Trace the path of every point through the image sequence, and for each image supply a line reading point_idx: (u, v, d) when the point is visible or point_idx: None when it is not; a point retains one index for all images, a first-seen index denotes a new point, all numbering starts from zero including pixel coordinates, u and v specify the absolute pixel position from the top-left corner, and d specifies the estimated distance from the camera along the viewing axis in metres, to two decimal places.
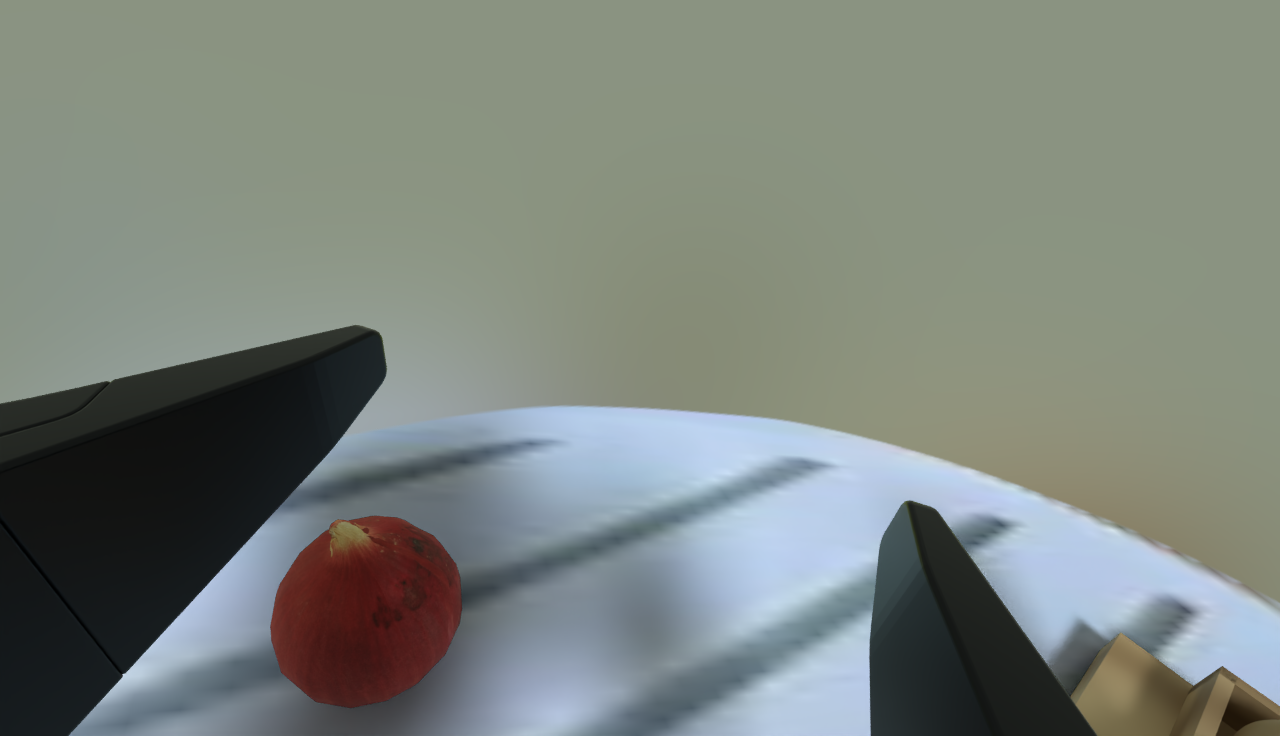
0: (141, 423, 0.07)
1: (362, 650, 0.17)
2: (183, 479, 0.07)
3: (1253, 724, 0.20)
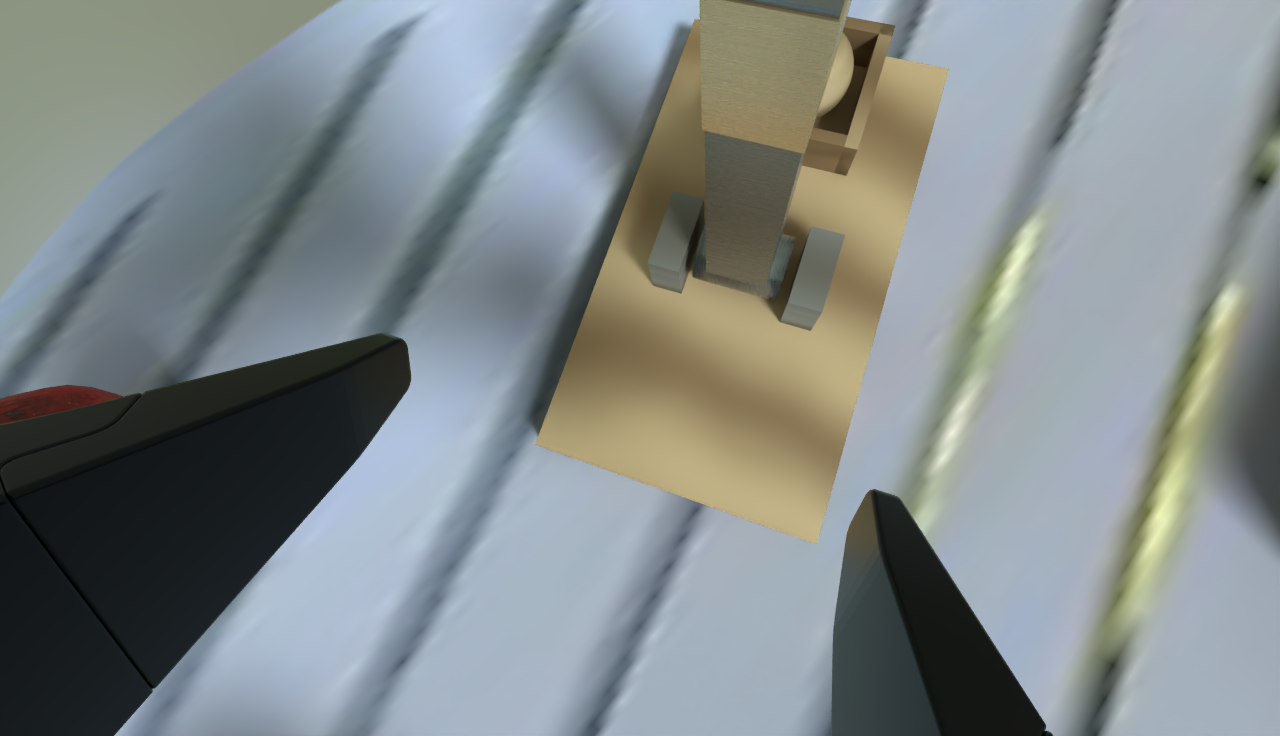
0: (176, 436, 0.07)
1: None
2: (215, 492, 0.07)
3: None
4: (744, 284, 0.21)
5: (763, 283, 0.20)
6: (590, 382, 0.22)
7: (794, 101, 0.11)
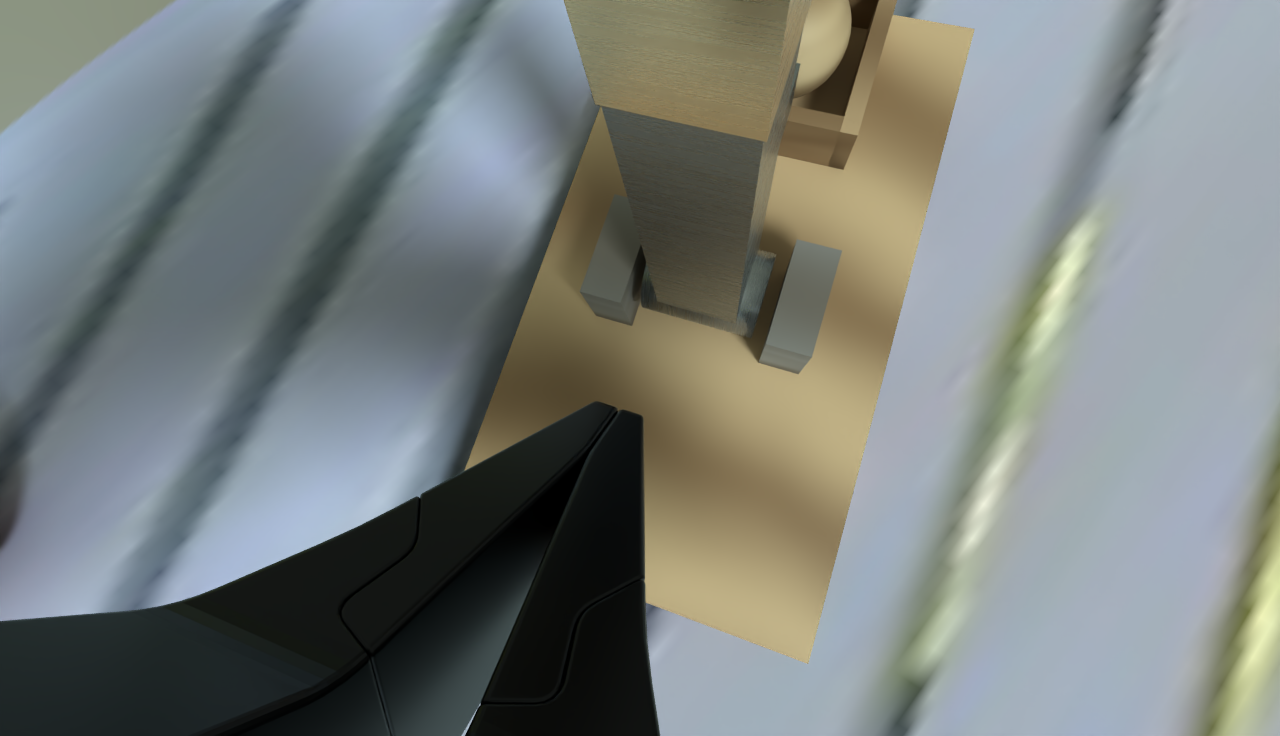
0: (479, 553, 0.06)
1: None
2: (491, 602, 0.07)
3: None
4: (708, 318, 0.15)
5: (732, 318, 0.15)
6: None
7: (737, 42, 0.06)
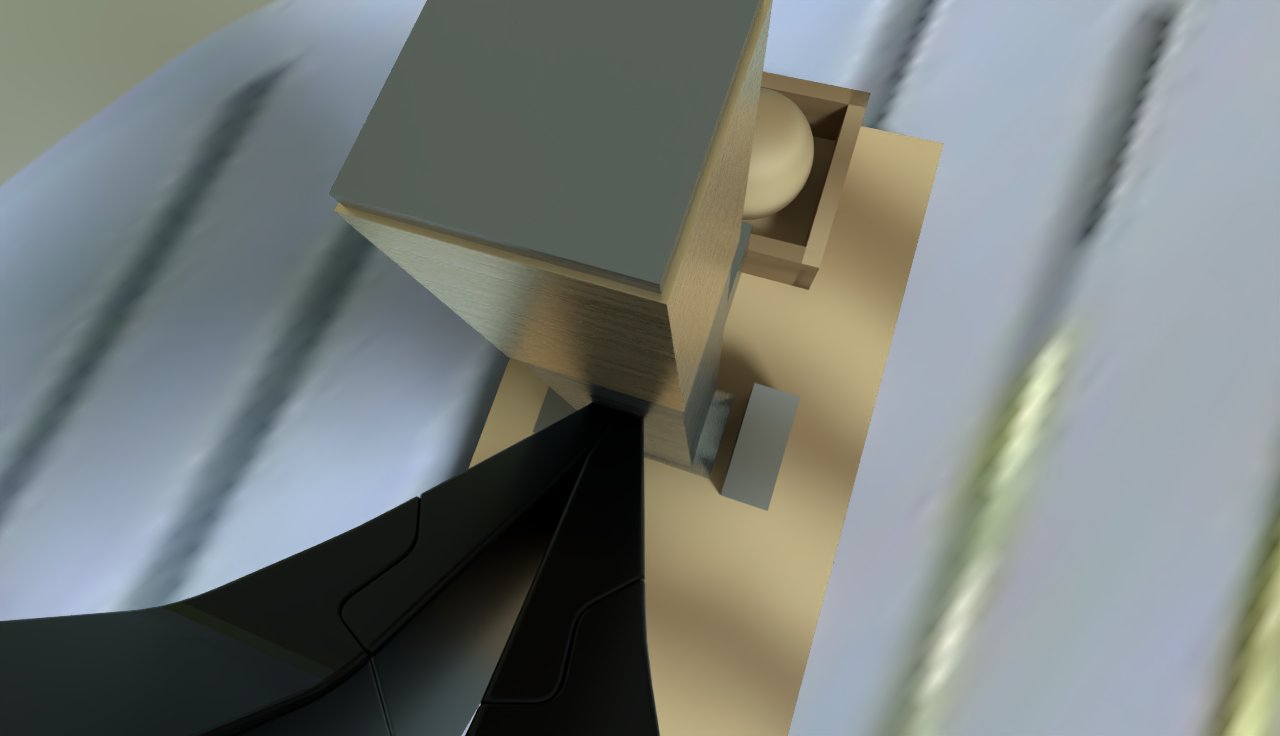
0: (479, 553, 0.06)
1: None
2: (491, 602, 0.07)
3: None
4: (665, 460, 0.15)
5: (688, 465, 0.14)
6: None
7: (634, 367, 0.05)
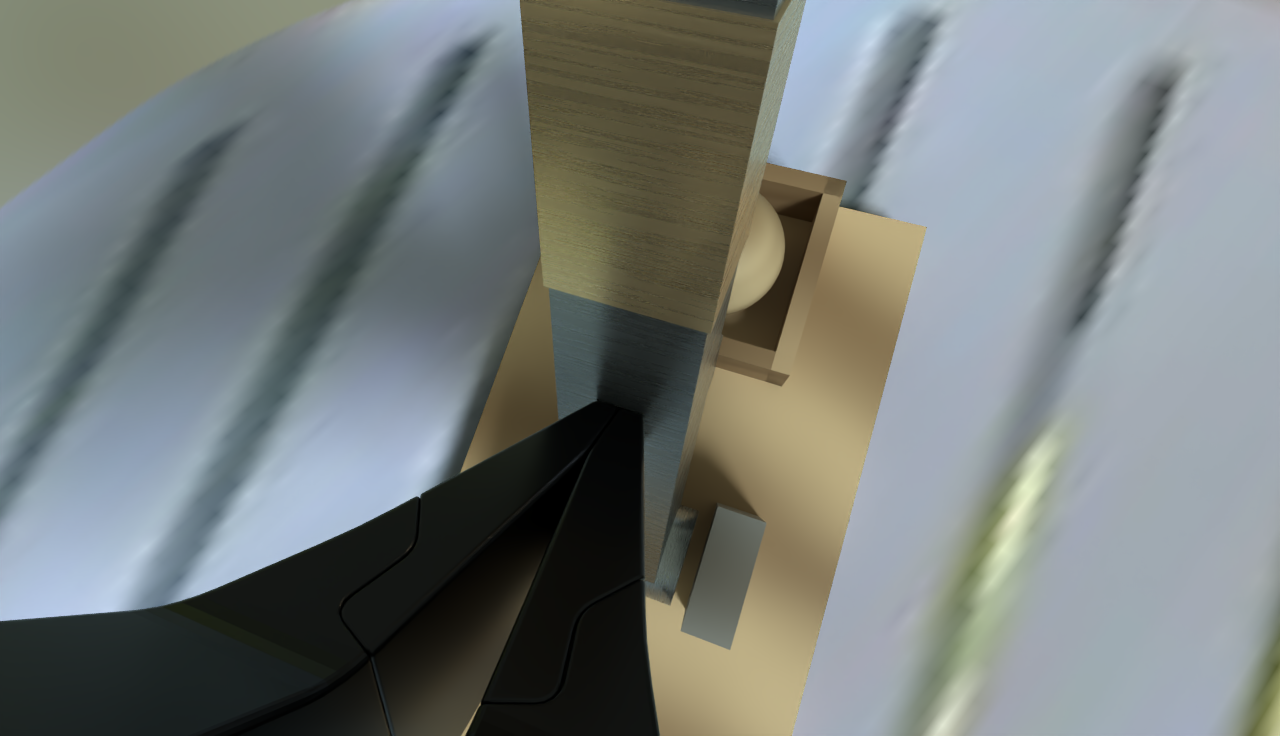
0: (480, 553, 0.06)
1: None
2: (491, 602, 0.07)
3: None
4: None
5: (651, 575, 0.13)
6: None
7: (692, 221, 0.06)
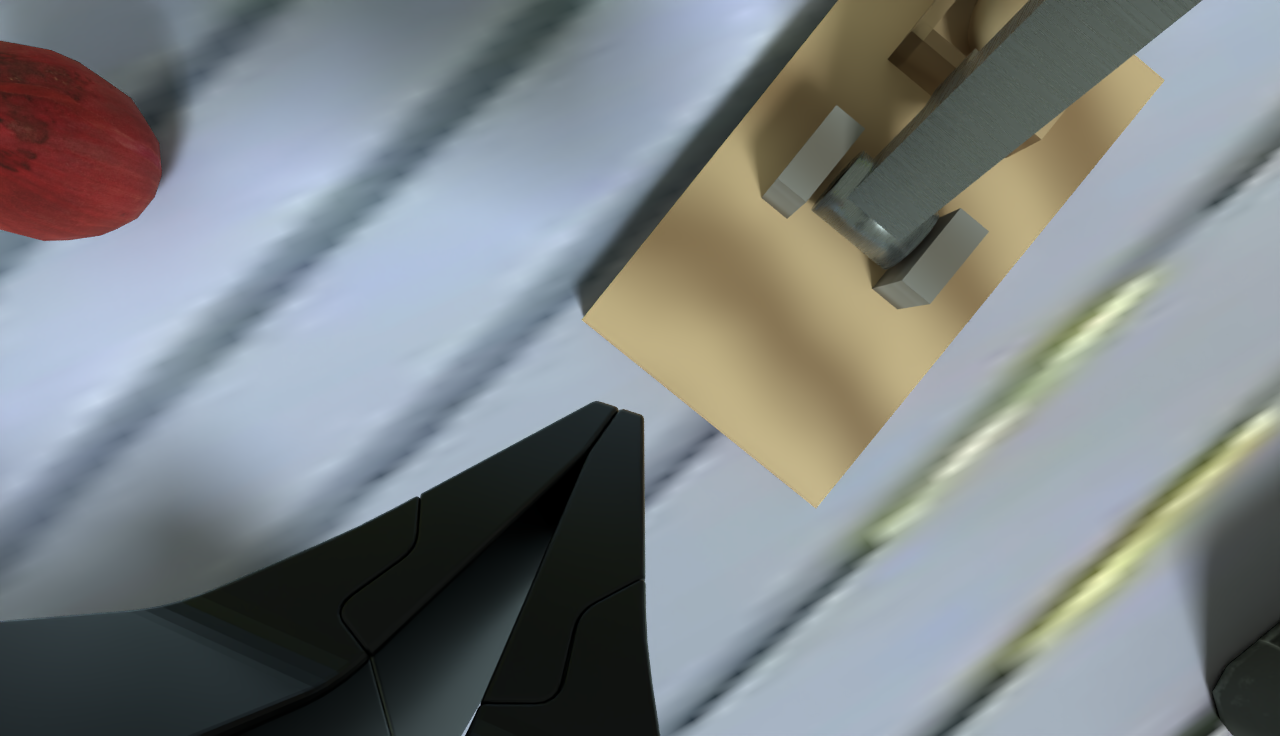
0: (479, 553, 0.06)
1: (27, 196, 0.17)
2: (491, 602, 0.07)
3: None
4: (879, 229, 0.18)
5: (906, 231, 0.18)
6: (659, 276, 0.21)
7: None
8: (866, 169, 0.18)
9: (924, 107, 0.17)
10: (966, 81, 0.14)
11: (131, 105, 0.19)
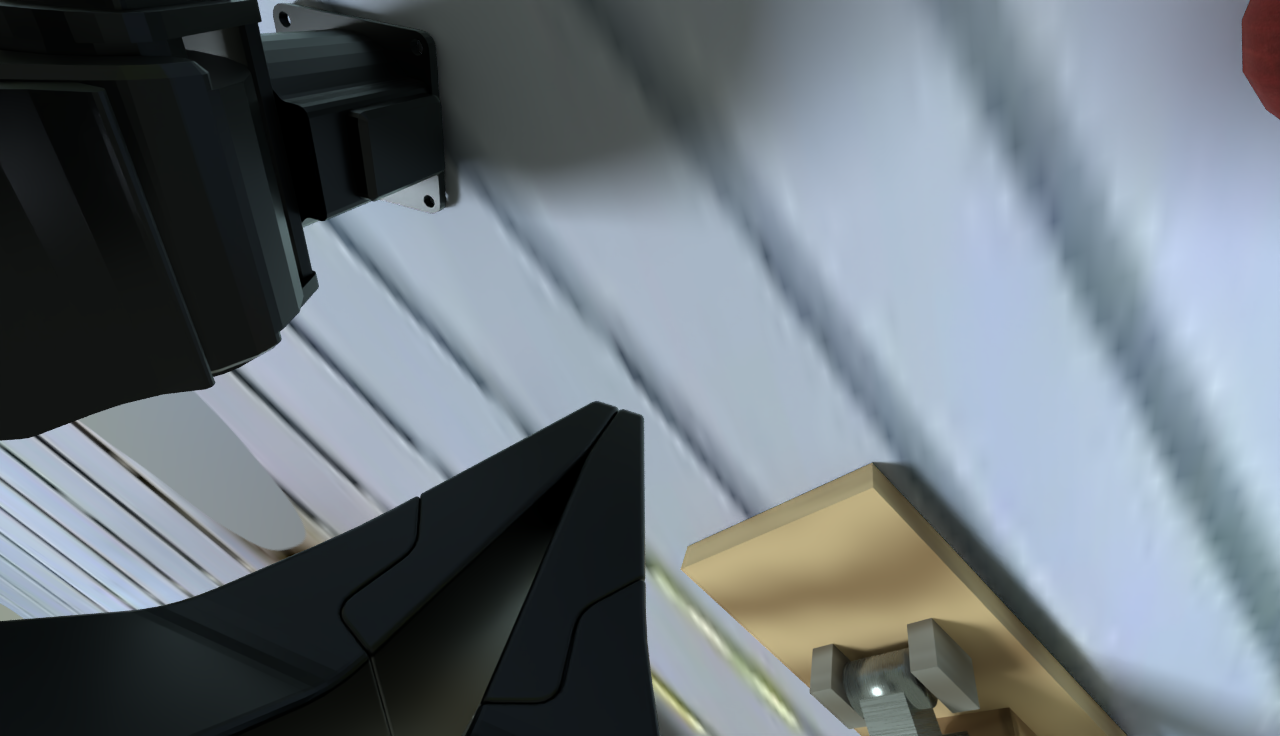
0: (480, 553, 0.06)
1: None
2: (491, 602, 0.07)
3: None
4: (872, 694, 0.26)
5: (863, 710, 0.26)
6: (891, 545, 0.24)
7: None
8: (919, 708, 0.25)
9: None
10: None
11: None
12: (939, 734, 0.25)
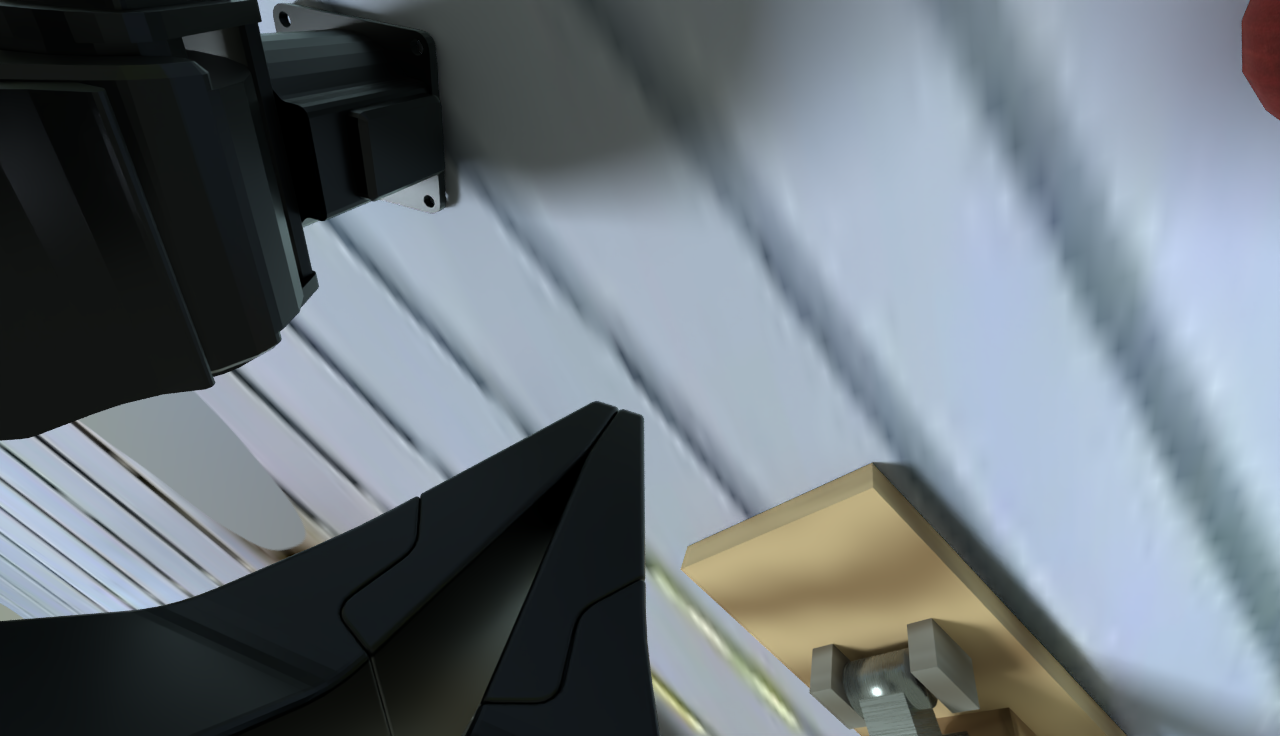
0: (479, 553, 0.06)
1: None
2: (491, 602, 0.07)
3: None
4: (872, 695, 0.26)
5: (863, 710, 0.26)
6: (891, 545, 0.24)
7: None
8: (919, 708, 0.25)
9: None
10: None
11: None
12: (939, 734, 0.25)
